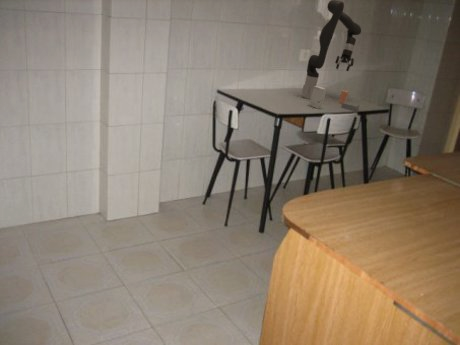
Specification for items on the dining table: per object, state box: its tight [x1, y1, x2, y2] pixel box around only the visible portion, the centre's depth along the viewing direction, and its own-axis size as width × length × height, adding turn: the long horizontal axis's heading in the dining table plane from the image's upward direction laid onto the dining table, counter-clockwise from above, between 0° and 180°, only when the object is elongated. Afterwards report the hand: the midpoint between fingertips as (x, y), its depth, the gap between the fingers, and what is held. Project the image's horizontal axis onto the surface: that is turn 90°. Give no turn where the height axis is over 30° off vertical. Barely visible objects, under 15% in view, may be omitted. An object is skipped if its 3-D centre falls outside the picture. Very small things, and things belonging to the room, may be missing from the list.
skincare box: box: [308, 85, 328, 109], centre depth 343 cm, size 8×6×15 cm
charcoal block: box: [341, 101, 360, 112], centre depth 361 cm, size 11×11×4 cm
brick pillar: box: [338, 89, 350, 105], centre depth 373 cm, size 5×5×10 cm
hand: (342, 70), depth 374 cm, fingers open, 8 cm apart
